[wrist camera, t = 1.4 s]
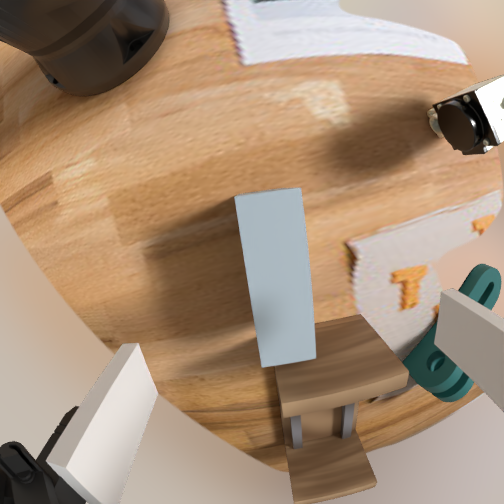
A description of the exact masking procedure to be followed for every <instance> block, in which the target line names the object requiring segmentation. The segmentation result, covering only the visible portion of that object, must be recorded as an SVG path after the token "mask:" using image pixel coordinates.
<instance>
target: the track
mask: <svg viewBox="0 0 504 504" xmlns="http://www.w3.org/2000/svg"><path fill="white" fill-rule="evenodd" d="M314 326H315V343H316V359H311V360H306V361H300V362H294V363H289V364H282V365H276V366H274V368H275V375H276V383H277V390H278V397H279V404H280V412H281V419H282V426H283V434H284V441H285V448H286V455H287V461H288V468H289V474H290V481H291V487H292V494H293V500H294V504H312V503H317V502H322V501H326V500H331V499H335V498H339V497H343V496H347V495H350V494H354V493H357V492H361V491H364V490H367V489H370V488H373V487H375V486H376V483H377V480H376V477H375V475H374V473H373V470H372V468H371V465H370V463H369V460H368V458H367V456H366V453H365V451H364V448H363V446H362V444H361V441H360V439H359V437H358V434H357V432H356V422H357V414H358V406H359V401H363V400H366V399H370V398H373V397H377V396H380V395H383V394H386V393H389V392H392V391H395V390H398V389H401V388H404V387H406V385H407V381H408V376H409V371H408V369H407V368H406V367H405V366H404V364H403V363H402V362H401V361H400V360H399V358H398V357H397V356H396V355H395V354H394V352H393V351H392V350H391V349H390V348H389V347H388V345H387V344H386V343H385V342H384V341H383V339H382V338H381V337H380V336H379V335H378V334H377V332H376V331H375V330H374V329H373V328H372V327H371V325H370V324H369V323H368V322H367V321H366V320H365V318H364V317H363V316H362V315H361V314H360V315H355V316H351V317H346V318H341V319H336V320H332V321H326V322H321V323H316V324H314Z"/></svg>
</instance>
